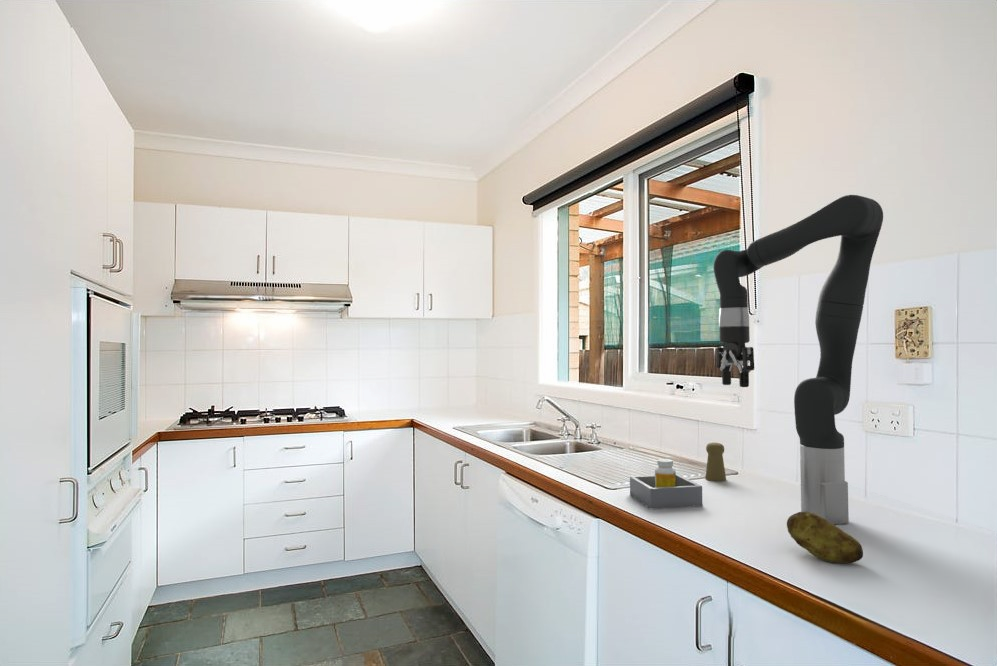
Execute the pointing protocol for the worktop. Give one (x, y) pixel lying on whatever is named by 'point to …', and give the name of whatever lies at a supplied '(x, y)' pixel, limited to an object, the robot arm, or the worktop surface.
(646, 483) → the box
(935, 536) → the worktop surface
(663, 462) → the supplement bottle
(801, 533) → the potato
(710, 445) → the cork
